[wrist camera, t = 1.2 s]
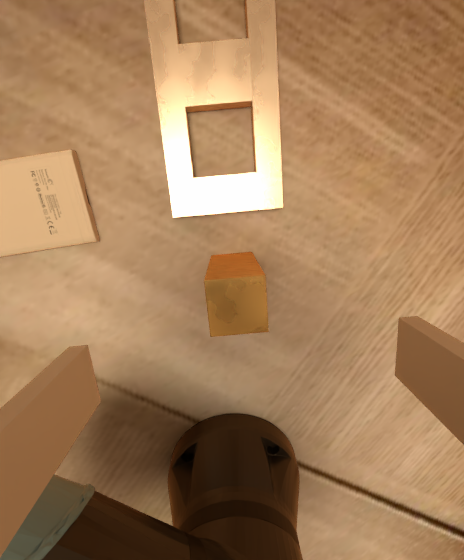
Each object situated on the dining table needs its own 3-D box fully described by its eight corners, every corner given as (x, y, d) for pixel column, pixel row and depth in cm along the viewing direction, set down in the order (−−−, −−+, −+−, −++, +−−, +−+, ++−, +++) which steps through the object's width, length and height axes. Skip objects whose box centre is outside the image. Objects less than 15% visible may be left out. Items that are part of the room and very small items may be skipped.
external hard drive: (-53, 173, 26) (79, 151, 26) (-19, 259, 28) (102, 240, 28) (-71, 171, 25) (69, 148, 24) (-34, 262, 27) (95, 242, 26)
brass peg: (254, 290, 29) (268, 331, 19) (215, 293, 29) (210, 336, 19) (251, 251, 28) (265, 275, 18) (211, 255, 28) (204, 280, 18)
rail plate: (280, 207, 27) (283, 207, 26) (175, 216, 27) (173, 217, 26) (267, -89, 22) (270, -111, 20) (137, -78, 22) (130, -99, 20)
